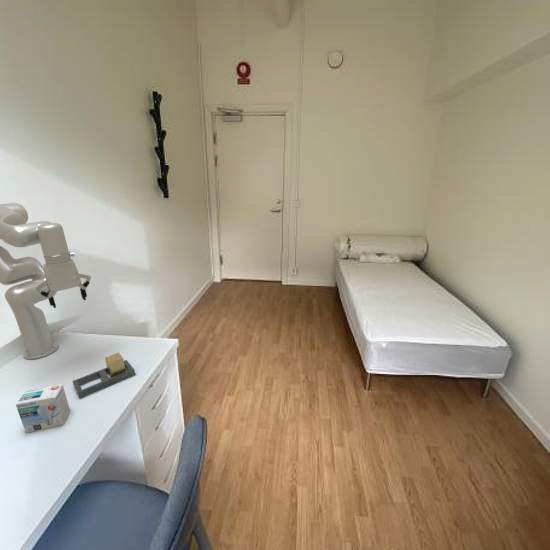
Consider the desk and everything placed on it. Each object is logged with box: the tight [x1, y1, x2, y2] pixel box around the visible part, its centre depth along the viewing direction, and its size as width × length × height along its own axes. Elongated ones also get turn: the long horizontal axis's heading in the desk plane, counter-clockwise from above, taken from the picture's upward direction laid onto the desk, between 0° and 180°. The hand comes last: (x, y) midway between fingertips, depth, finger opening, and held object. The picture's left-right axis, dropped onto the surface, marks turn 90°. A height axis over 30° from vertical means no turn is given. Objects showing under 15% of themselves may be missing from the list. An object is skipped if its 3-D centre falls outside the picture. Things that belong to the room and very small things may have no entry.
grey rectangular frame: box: [72, 359, 136, 400], centre depth 119 cm, size 9×19×2 cm, turn 131°
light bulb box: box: [15, 383, 71, 434], centre depth 99 cm, size 11×7×11 cm, turn 105°
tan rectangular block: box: [104, 352, 127, 378], centre depth 121 cm, size 5×5×8 cm
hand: (69, 302), depth 119 cm, fingers open, 9 cm apart
